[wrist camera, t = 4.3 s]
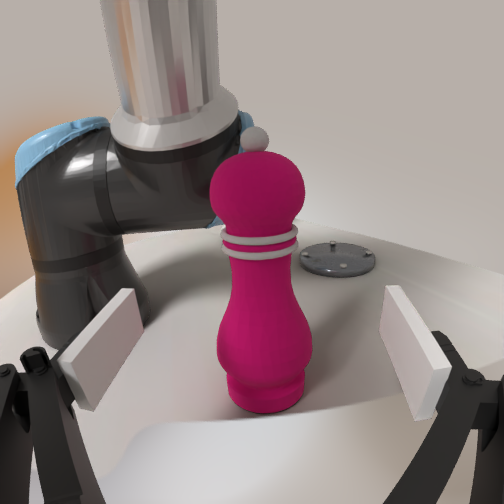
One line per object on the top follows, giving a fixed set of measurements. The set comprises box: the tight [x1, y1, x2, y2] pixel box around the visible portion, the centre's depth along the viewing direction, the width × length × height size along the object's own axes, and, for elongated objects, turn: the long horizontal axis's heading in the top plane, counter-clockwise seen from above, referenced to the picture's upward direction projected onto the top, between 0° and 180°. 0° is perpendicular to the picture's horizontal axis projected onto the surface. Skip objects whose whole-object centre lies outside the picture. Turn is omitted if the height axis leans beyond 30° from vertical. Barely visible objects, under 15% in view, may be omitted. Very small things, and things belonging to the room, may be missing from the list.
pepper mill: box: [210, 126, 312, 413], centre depth 22 cm, size 7×7×20 cm
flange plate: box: [300, 241, 375, 277], centre depth 50 cm, size 12×12×2 cm
